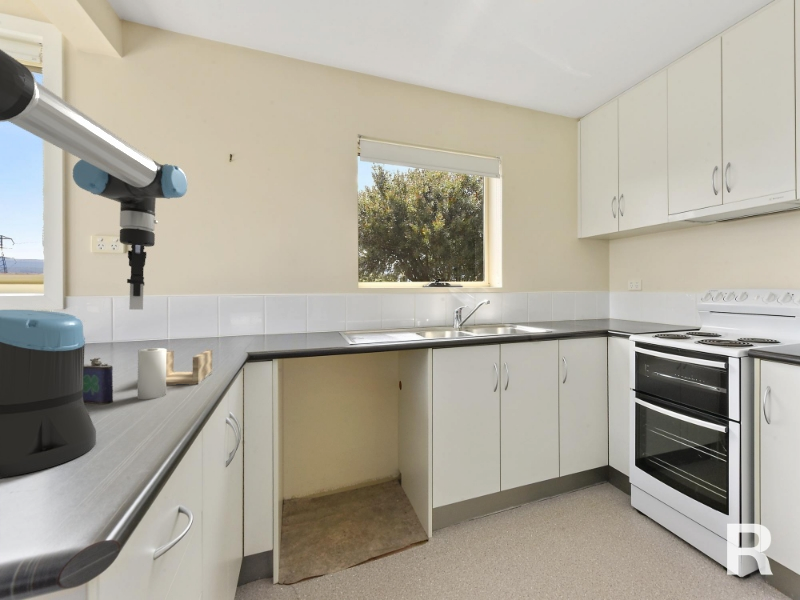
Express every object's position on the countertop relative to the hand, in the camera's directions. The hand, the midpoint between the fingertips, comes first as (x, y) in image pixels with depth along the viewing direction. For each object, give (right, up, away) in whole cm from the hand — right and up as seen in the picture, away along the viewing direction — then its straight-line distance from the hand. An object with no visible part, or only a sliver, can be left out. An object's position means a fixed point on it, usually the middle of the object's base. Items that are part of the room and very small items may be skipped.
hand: (135, 309), depth 93 cm
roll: (+7, -23, -3) cm, 24 cm away
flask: (-3, -23, -9) cm, 24 cm away
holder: (+3, -22, +14) cm, 27 cm away
